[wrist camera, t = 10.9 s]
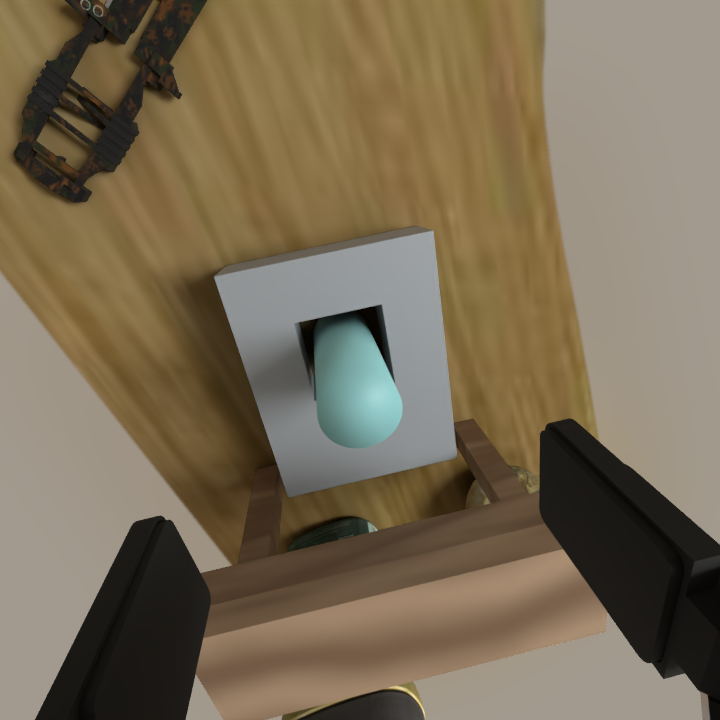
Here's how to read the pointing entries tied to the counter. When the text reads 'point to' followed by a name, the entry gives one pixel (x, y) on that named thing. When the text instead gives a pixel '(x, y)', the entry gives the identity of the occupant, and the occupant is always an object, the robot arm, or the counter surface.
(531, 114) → the counter surface
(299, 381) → the socket
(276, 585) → the open wooden frame
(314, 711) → the coffee jar
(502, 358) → the counter surface
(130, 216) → the counter surface
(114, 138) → the knife
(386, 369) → the peg
